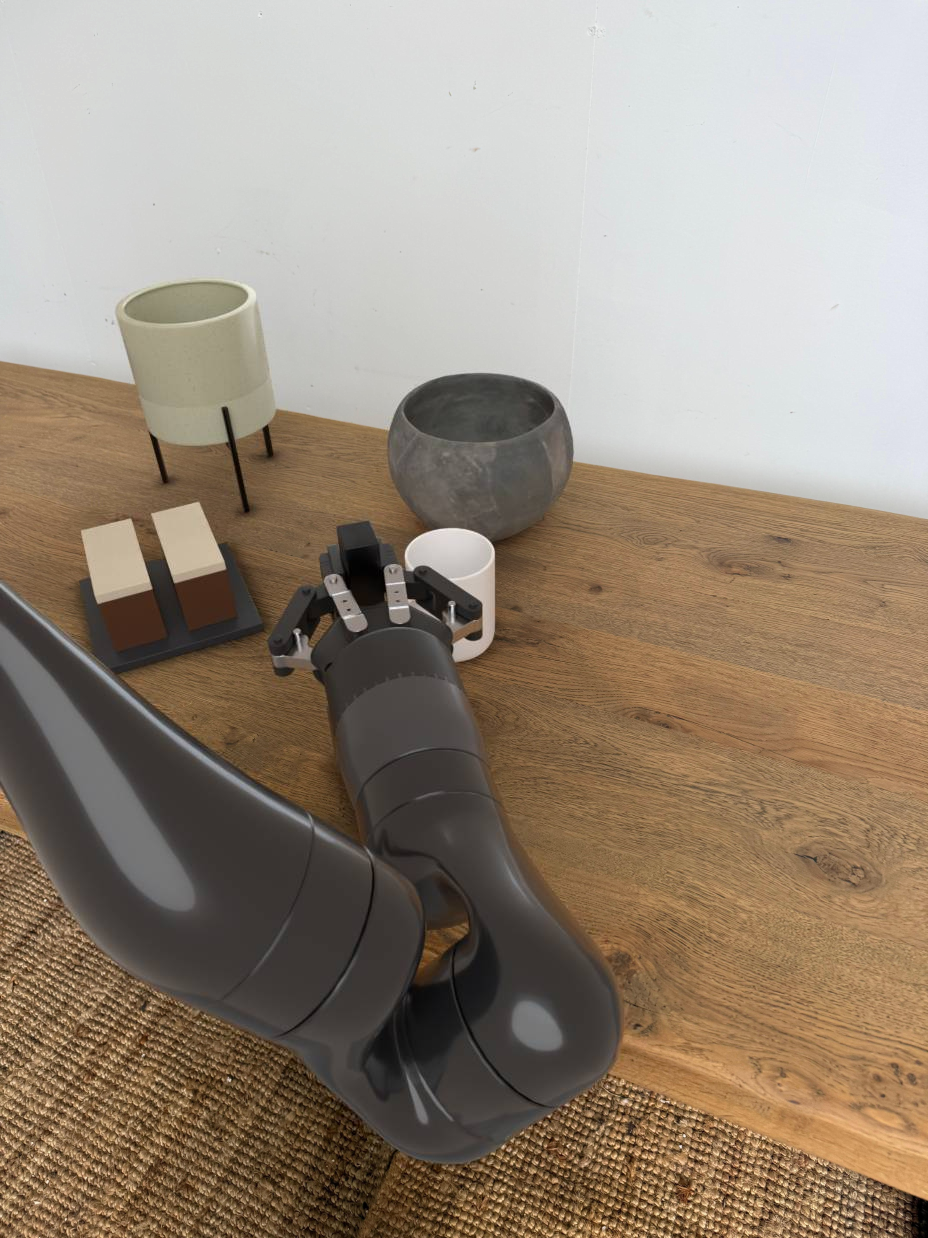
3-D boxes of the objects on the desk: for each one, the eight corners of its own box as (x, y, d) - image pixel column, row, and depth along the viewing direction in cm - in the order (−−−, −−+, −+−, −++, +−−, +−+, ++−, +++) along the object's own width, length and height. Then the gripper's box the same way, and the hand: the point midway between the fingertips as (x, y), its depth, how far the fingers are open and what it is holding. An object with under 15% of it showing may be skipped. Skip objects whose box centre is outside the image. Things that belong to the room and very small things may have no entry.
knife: (372, 743, 62) (350, 563, 52) (355, 688, 67) (330, 512, 56) (402, 736, 63) (385, 556, 53) (382, 681, 67) (363, 506, 57)
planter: (181, 452, 116) (135, 277, 101) (297, 452, 115) (269, 276, 101) (144, 514, 104) (86, 326, 90) (274, 514, 104) (237, 325, 89)
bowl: (358, 520, 102) (344, 402, 93) (485, 460, 112) (484, 349, 103) (473, 597, 90) (470, 472, 81) (603, 523, 101) (615, 403, 91)
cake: (100, 679, 82) (73, 614, 77) (82, 587, 93) (57, 525, 88) (264, 630, 87) (250, 566, 82) (228, 548, 98) (213, 488, 93)
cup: (512, 634, 86) (513, 550, 79) (425, 697, 79) (419, 612, 73) (452, 599, 90) (449, 517, 84) (366, 657, 84) (355, 573, 77)
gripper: (532, 656, 45) (451, 488, 58) (263, 708, 42) (241, 521, 55) (528, 752, 50) (454, 578, 63) (286, 804, 47) (260, 611, 60)
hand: (354, 552), depth 59 cm, fingers closed on knife, 2 cm apart
